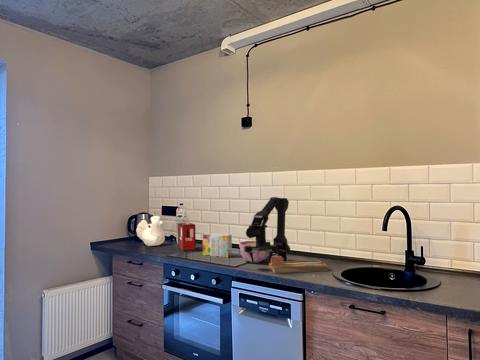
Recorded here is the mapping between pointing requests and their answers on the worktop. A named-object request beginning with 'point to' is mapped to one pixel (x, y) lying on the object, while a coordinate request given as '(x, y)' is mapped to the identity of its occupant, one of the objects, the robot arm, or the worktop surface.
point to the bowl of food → (257, 254)
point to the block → (277, 261)
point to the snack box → (217, 245)
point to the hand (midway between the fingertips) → (261, 263)
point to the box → (299, 266)
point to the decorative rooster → (151, 231)
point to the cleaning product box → (186, 237)
